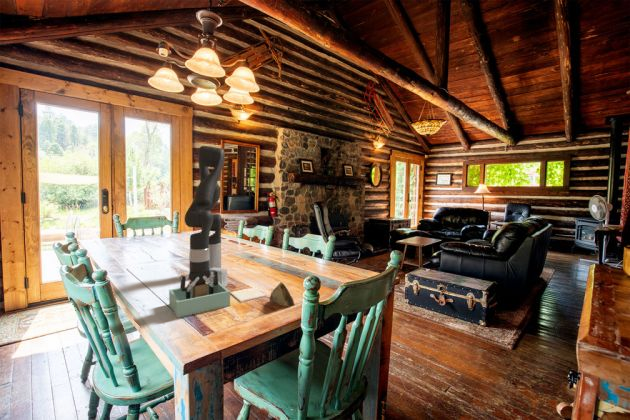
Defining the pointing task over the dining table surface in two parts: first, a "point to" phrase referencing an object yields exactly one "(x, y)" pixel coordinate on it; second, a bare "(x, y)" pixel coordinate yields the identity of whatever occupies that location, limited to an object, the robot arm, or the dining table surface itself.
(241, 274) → the dining table surface
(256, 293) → the plate
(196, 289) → the oak block
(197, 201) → the robot arm
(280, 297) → the rock
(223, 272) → the medicine box
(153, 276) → the dining table surface
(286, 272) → the dining table surface
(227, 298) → the box frame
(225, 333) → the dining table surface
